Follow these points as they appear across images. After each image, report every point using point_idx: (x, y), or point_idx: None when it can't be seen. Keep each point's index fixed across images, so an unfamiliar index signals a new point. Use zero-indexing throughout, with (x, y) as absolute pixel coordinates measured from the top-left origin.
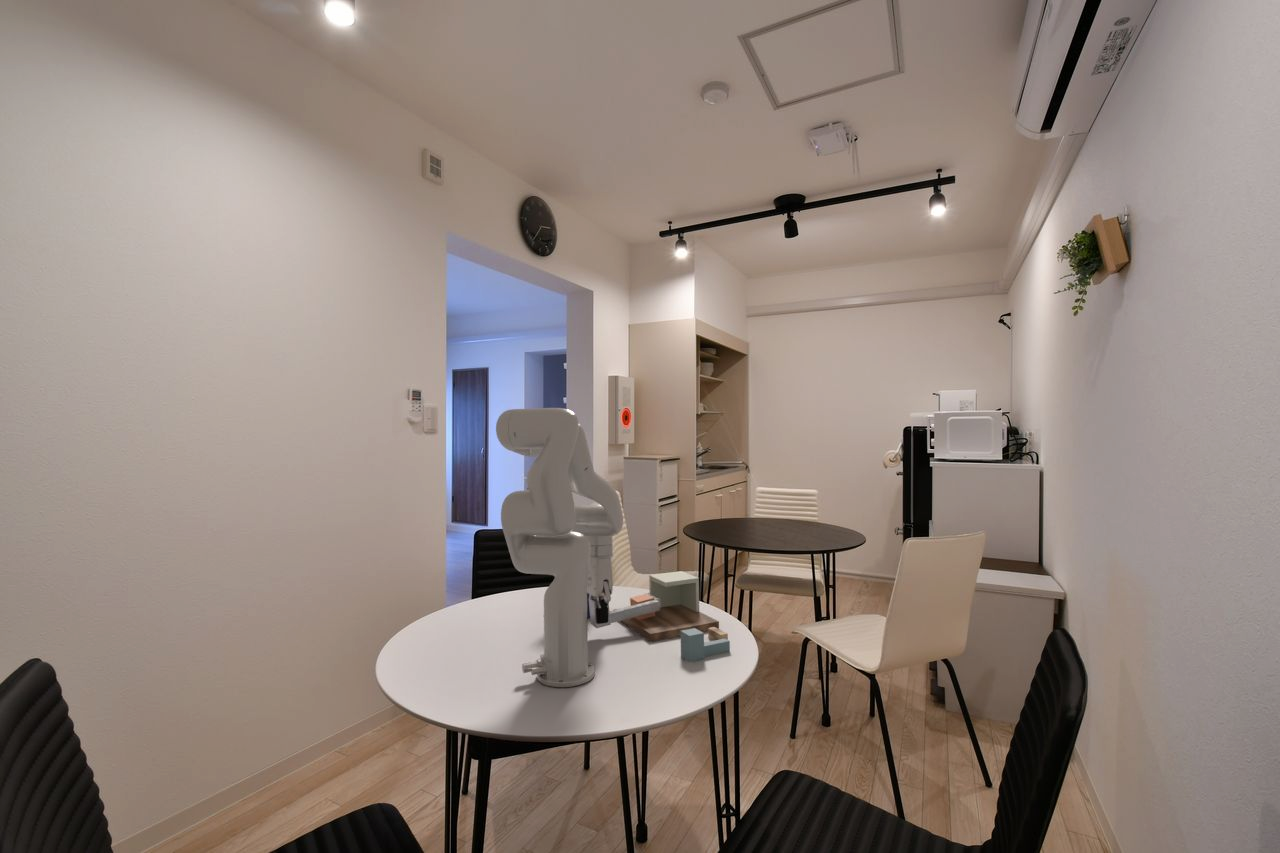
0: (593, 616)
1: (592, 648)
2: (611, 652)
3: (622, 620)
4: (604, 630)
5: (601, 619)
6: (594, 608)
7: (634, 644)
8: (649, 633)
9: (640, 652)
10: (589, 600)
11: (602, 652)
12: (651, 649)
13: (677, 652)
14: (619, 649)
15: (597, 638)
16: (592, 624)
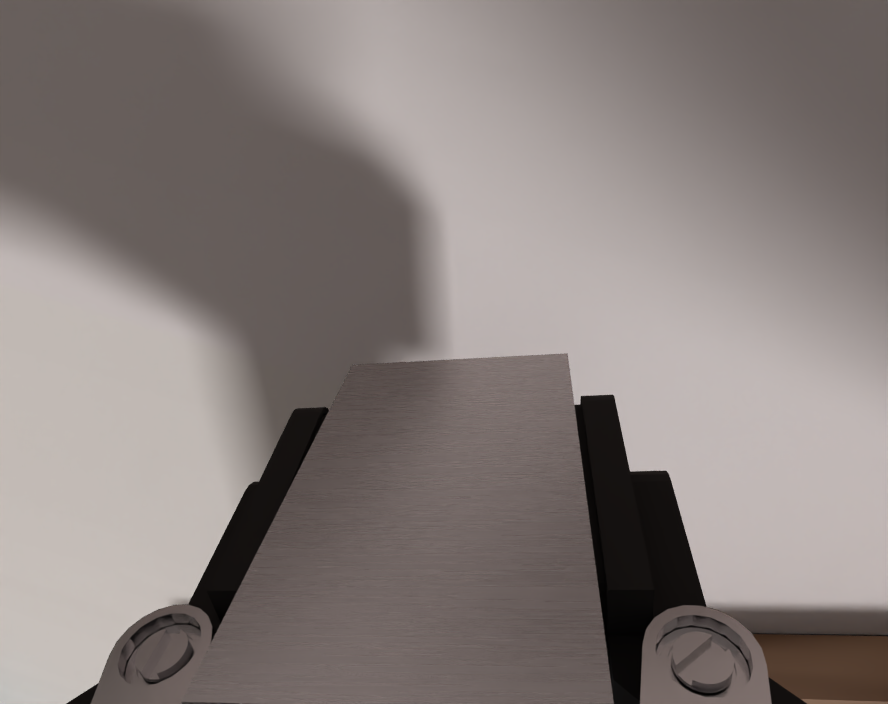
0: (407, 443)
1: (165, 183)
2: (35, 322)
3: (799, 651)
4: (671, 449)
5: (249, 493)
6: (264, 562)
7: (204, 529)
8: None
9: (25, 506)
10: (541, 659)
11: (39, 247)
12: (81, 579)
13: (16, 663)
14: (105, 402)
15: (460, 319)
16: (502, 362)
